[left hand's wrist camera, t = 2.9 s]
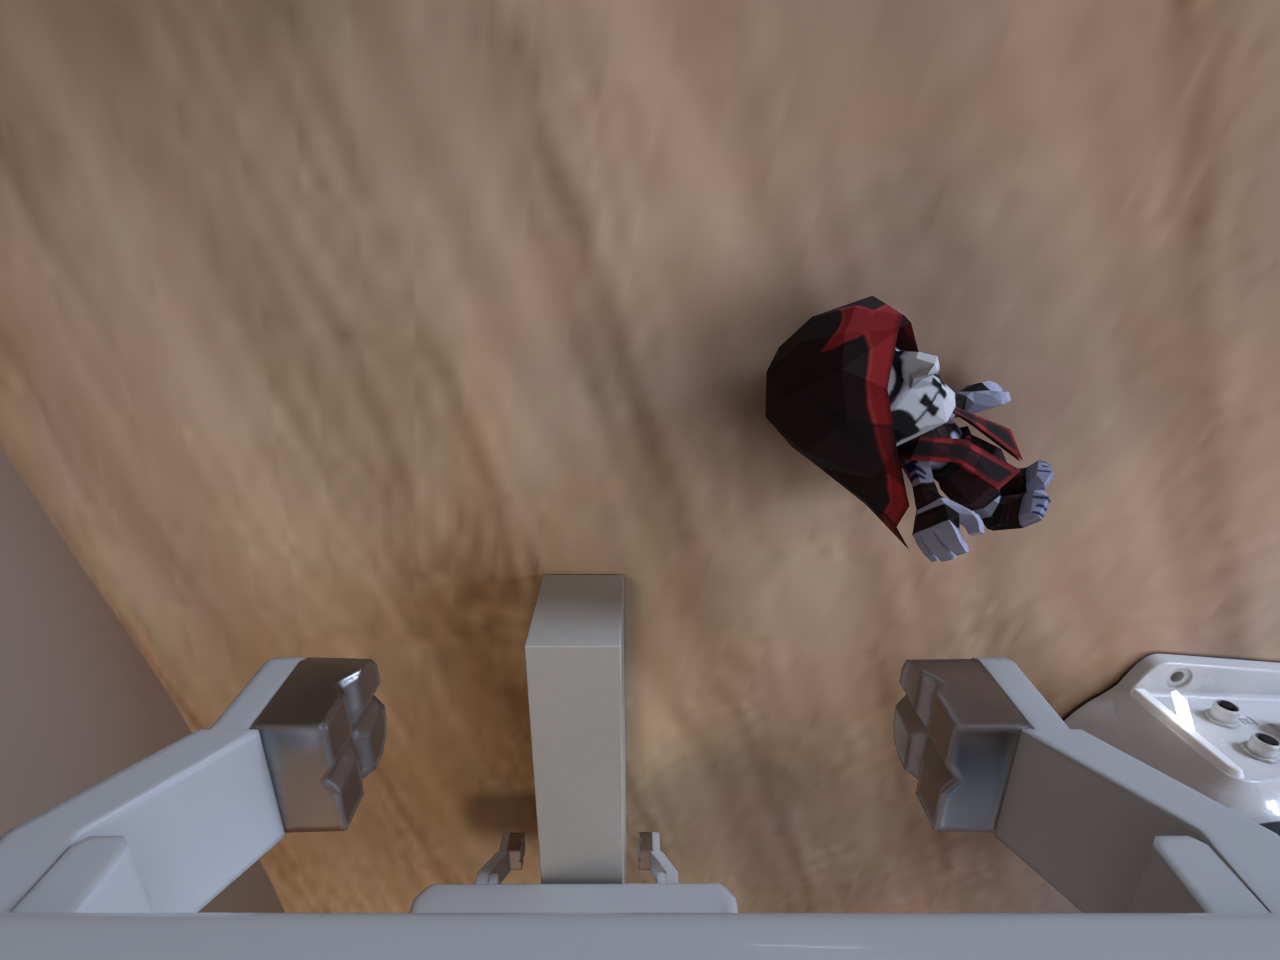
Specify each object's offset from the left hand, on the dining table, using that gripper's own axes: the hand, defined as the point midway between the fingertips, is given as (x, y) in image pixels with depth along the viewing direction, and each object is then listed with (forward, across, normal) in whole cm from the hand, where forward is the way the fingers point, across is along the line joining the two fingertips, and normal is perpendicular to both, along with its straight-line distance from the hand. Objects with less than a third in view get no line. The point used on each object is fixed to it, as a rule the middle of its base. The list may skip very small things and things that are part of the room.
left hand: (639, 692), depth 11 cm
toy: (+31, +14, -4) cm, 34 cm away
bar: (+31, -4, -27) cm, 41 cm away
